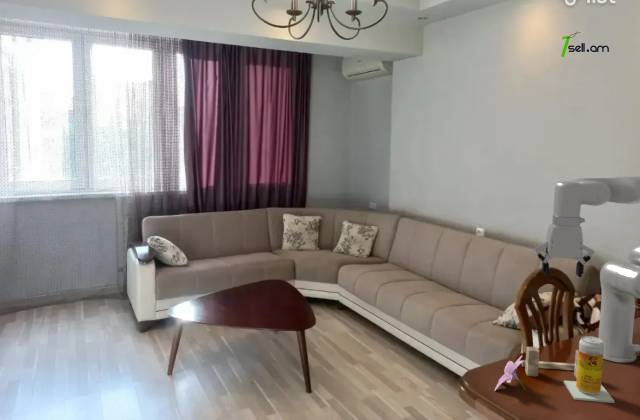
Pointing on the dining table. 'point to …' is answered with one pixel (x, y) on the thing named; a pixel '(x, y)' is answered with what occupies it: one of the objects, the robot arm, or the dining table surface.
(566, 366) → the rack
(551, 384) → the dining table surface
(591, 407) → the dining table surface
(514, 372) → the lily
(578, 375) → the beer can
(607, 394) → the mat
